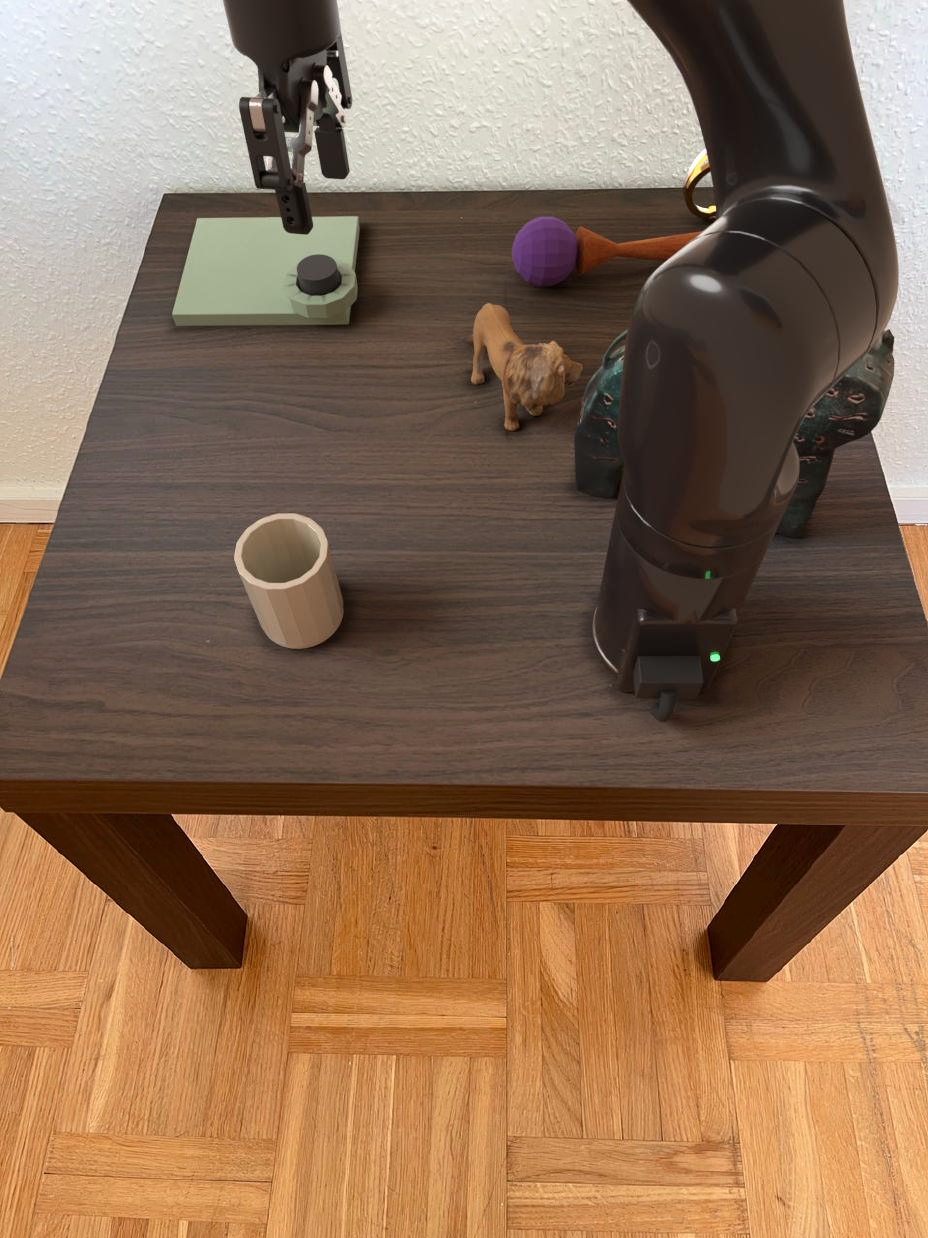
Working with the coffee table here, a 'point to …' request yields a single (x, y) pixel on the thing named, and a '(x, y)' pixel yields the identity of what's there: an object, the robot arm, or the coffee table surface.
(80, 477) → the coffee table surface
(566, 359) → the lion figurine
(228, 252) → the scale
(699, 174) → the ring
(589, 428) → the ceramic cat
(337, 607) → the cup
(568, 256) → the kendama
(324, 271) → the button
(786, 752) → the coffee table surface
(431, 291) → the coffee table surface
